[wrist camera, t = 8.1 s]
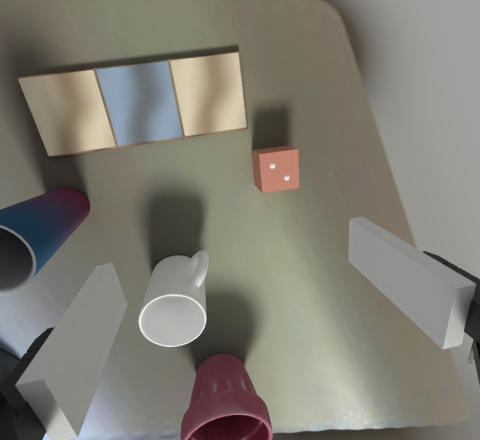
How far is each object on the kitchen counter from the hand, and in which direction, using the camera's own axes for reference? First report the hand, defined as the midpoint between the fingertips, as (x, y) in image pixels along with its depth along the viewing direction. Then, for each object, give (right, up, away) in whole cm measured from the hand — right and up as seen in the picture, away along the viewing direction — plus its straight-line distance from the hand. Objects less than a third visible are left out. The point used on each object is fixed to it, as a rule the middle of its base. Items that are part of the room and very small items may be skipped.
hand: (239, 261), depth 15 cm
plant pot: (-4, -27, +37) cm, 46 cm away
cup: (-23, +4, +22) cm, 32 cm away
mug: (-9, -5, +28) cm, 29 cm away
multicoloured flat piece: (-12, +17, +18) cm, 28 cm away
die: (+4, +10, +24) cm, 26 cm away
